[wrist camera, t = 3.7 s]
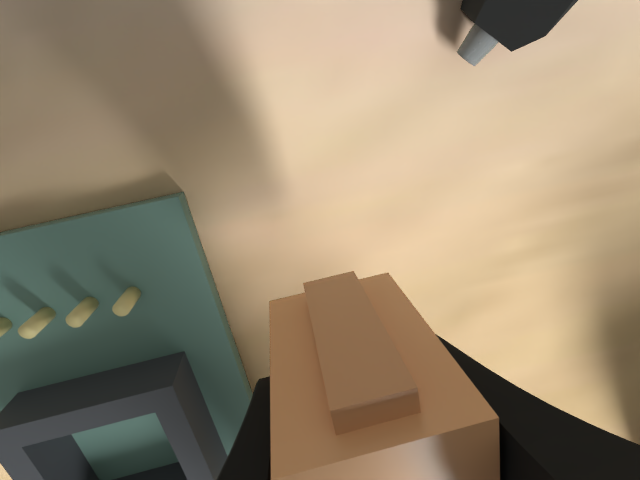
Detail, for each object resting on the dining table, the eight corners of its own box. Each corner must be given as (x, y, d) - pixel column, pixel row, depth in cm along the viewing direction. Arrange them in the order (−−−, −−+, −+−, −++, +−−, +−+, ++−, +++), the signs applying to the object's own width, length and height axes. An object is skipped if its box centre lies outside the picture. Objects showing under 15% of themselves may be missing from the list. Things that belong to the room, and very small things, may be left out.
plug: (401, 367, 13) (501, 557, 7) (296, 395, 13) (317, 612, 7) (385, 256, 11) (498, 390, 6) (264, 285, 11) (262, 454, 6)
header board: (274, 459, 23) (275, 516, 20) (71, 514, 22) (37, 584, 19) (183, 191, 17) (162, 210, 13) (-108, 255, 16) (-206, 292, 12)
